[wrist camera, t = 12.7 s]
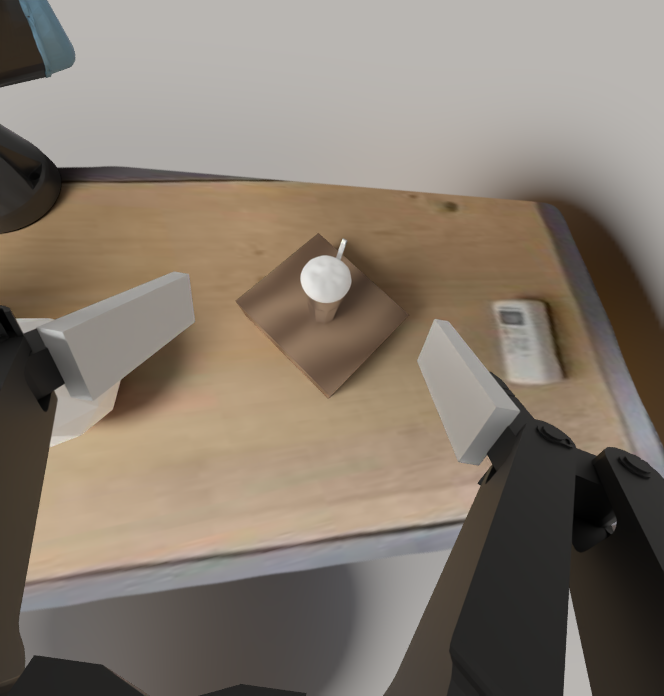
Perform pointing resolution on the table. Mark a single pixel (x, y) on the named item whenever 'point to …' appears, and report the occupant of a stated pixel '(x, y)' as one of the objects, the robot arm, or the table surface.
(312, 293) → the milkshake
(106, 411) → the geodesic sphere
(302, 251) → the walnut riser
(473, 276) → the table surface
